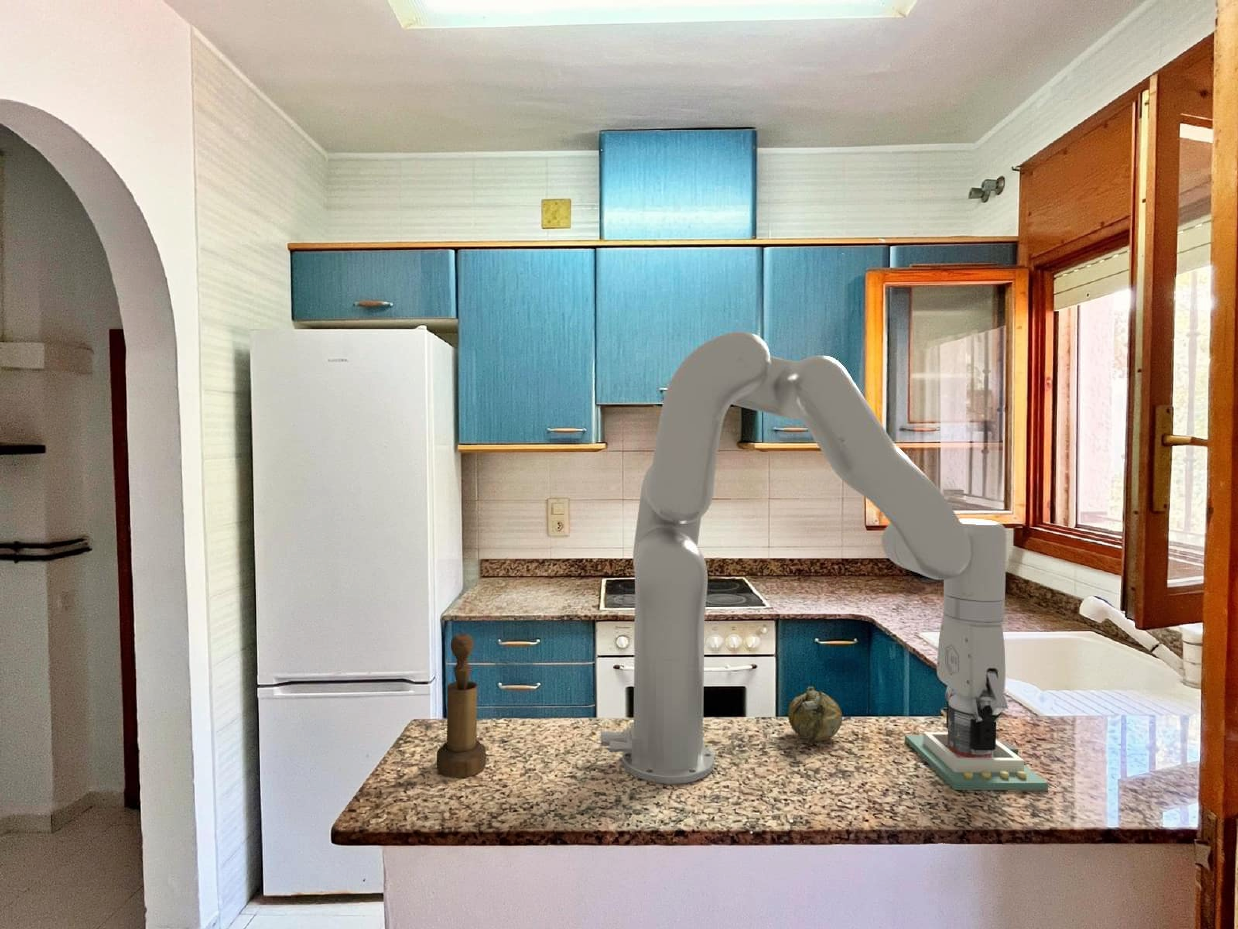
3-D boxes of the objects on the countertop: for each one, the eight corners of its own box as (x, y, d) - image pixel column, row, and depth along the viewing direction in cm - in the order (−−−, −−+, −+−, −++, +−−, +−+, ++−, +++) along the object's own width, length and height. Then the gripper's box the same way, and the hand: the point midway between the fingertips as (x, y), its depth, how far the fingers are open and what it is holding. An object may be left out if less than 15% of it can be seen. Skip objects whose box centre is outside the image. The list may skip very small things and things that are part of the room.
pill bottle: (953, 742, 101) (955, 674, 101) (997, 754, 97) (999, 683, 97) (942, 755, 96) (944, 684, 96) (988, 768, 93) (989, 693, 93)
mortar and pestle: (496, 766, 95) (496, 634, 94) (455, 783, 90) (456, 644, 90) (466, 752, 99) (467, 625, 99) (426, 767, 94) (427, 634, 94)
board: (955, 790, 89) (955, 770, 89) (904, 741, 104) (905, 724, 104) (1048, 790, 89) (1048, 770, 89) (984, 741, 104) (985, 724, 104)
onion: (852, 746, 102) (853, 692, 102) (801, 750, 101) (802, 695, 101) (827, 726, 110) (828, 675, 110) (779, 729, 108) (780, 678, 108)
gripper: (918, 596, 105) (915, 715, 105) (979, 624, 88) (976, 767, 88) (968, 596, 105) (965, 716, 105) (1038, 625, 88) (1034, 768, 88)
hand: (970, 738), depth 97 cm, fingers closed on pill bottle, 5 cm apart
